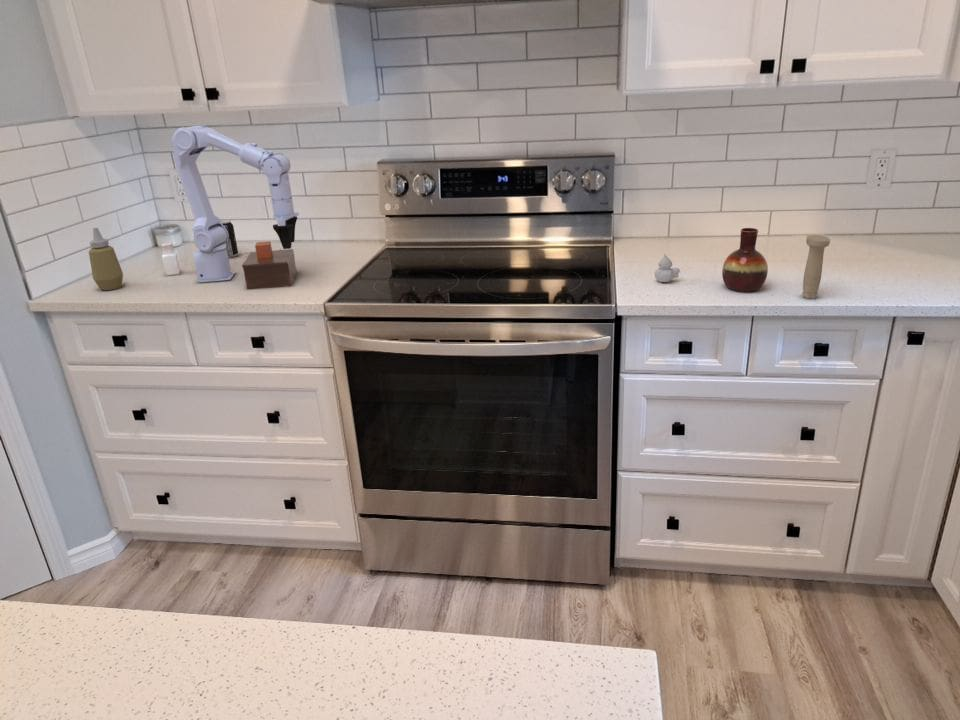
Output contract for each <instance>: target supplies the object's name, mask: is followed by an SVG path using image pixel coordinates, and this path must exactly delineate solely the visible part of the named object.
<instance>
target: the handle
mask: <svg viewBox="0 0 960 720" xmlns="http://www.w3.org/2000/svg"><path fill="white" fill-rule="evenodd" d="M805 242H806V245H807V246H808V247H809V249H808V255H807V259H806V263H805V268H804V271H803V278H802V298H805V299H807V300H810V299H812V300H814V299H816V298H817V296H818V291H819V288H820V285H821V280H822V274H823V263H824V253H825V248H826V247H829V245H830V243H831V238H830V237H828V236H825V235H821V234H810V235H807V236H806V241H805Z"/></svg>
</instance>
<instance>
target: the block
mask: <svg viewBox="0 0 960 720" xmlns="http://www.w3.org/2000/svg"><path fill="white" fill-rule="evenodd" d="M254 248H255V252H256V254H257V259H265V258H272V255H273V253H272V251H273V248H272V242H271V241H269V240H268V241H257V242H256V243H255V245H254Z"/></svg>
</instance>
